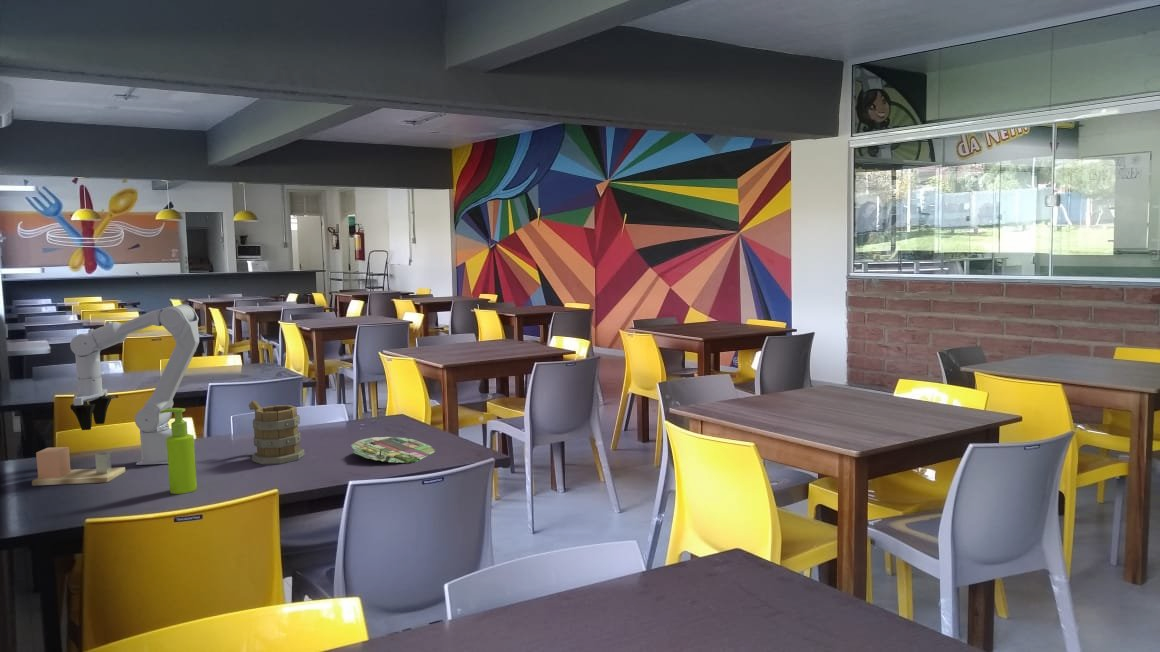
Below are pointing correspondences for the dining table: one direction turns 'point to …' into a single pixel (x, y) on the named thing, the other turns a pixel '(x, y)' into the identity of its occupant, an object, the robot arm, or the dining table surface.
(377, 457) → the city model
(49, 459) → the tan cardboard box
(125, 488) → the dining table surface
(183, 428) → the soap dispenser
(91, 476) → the birch board
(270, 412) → the tankard
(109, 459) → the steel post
